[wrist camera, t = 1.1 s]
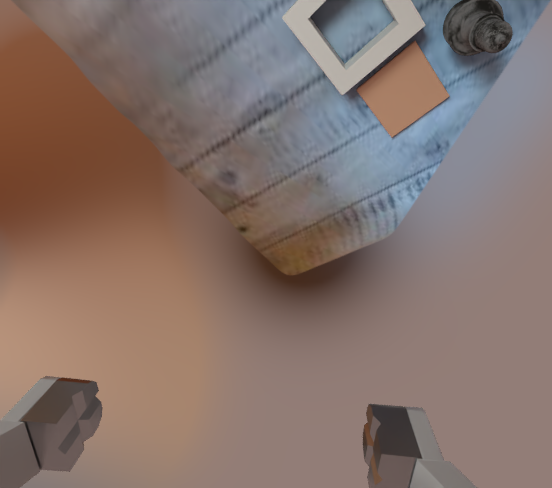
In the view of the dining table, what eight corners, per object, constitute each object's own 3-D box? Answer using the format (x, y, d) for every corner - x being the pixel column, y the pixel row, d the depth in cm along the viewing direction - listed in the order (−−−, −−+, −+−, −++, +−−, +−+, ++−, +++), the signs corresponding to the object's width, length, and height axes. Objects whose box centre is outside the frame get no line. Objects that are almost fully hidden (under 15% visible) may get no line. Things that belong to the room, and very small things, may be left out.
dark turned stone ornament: (445, 58, 47) (476, 83, 37) (435, 11, 43) (466, 25, 34) (495, 35, 44) (540, 55, 35) (488, -17, 41) (535, -9, 32)
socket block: (363, -73, 39) (366, -75, 37) (419, 21, 44) (425, 25, 42) (284, 14, 45) (281, 17, 43) (341, 88, 50) (342, 95, 47)
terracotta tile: (414, 40, 46) (415, 41, 45) (448, 94, 49) (449, 96, 49) (356, 89, 50) (356, 90, 50) (391, 135, 54) (391, 137, 53)
